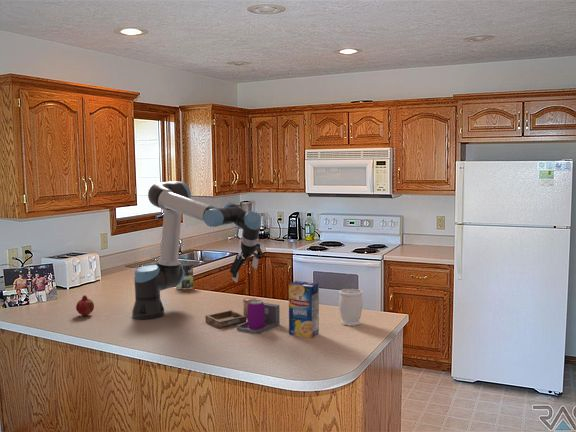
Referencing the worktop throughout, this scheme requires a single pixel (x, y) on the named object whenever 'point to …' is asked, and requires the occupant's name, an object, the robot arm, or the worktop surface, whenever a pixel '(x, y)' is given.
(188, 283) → the coffee can
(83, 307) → the fruit
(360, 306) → the jar
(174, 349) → the worktop surface
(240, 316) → the wooden tray
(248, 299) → the cup
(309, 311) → the beverage box
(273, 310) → the checker cradle
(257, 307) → the beverage can
